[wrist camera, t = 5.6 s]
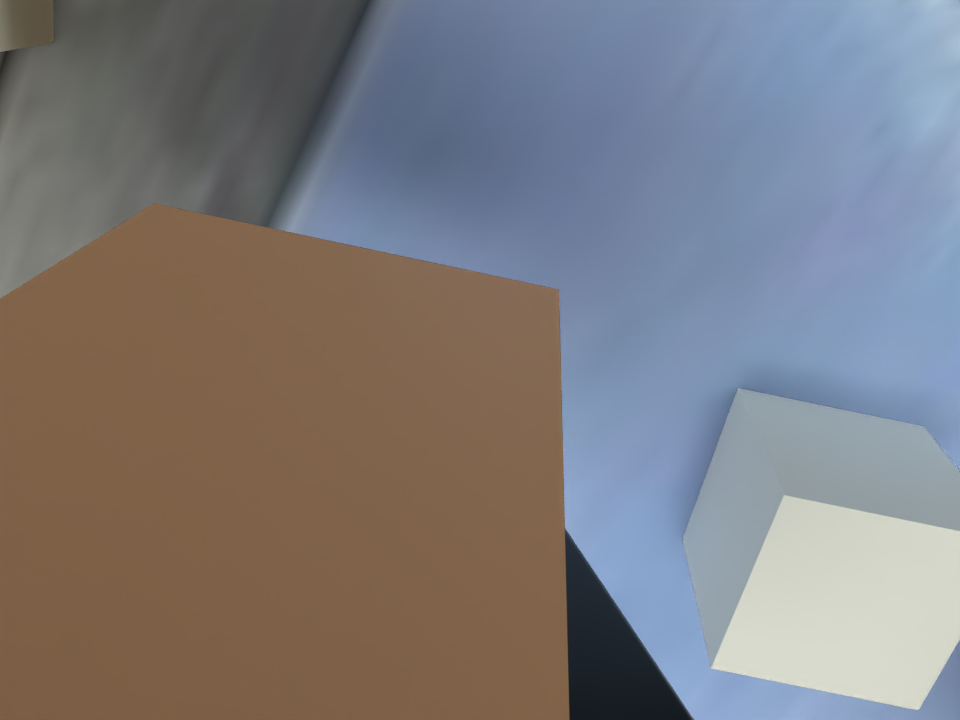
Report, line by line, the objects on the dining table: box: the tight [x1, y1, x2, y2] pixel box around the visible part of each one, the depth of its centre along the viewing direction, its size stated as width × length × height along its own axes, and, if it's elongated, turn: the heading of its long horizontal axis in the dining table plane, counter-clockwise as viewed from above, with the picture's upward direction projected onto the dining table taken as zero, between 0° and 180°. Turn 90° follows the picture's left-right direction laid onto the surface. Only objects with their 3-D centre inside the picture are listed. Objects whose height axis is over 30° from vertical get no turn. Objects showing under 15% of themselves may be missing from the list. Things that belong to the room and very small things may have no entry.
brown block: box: [0, 204, 569, 720], centre depth 7 cm, size 4×4×7 cm
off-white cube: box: [682, 388, 960, 710], centre depth 21 cm, size 5×5×5 cm
